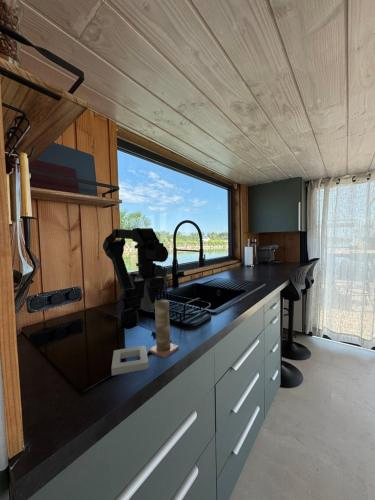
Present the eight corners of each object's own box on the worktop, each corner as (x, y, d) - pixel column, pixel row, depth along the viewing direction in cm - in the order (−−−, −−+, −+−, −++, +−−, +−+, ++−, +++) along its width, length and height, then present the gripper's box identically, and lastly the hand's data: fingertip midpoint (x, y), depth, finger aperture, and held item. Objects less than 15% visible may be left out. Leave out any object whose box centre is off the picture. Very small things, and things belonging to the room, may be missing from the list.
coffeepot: (137, 315, 106) (135, 278, 105) (134, 309, 115) (132, 275, 114) (168, 310, 112) (167, 275, 111) (163, 305, 121) (162, 272, 120)
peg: (158, 352, 71) (156, 305, 70) (155, 345, 75) (153, 301, 74) (172, 349, 73) (170, 302, 72) (168, 342, 77) (166, 299, 76)
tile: (148, 351, 73) (148, 349, 73) (163, 342, 79) (162, 340, 79) (164, 358, 69) (164, 355, 69) (178, 348, 75) (178, 346, 75)
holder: (114, 356, 71) (113, 350, 71) (145, 351, 73) (145, 345, 73) (111, 375, 61) (111, 368, 61) (148, 368, 64) (148, 362, 64)
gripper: (176, 260, 82) (178, 301, 83) (152, 257, 97) (154, 292, 98) (149, 263, 75) (151, 308, 76) (128, 259, 90) (130, 297, 91)
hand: (147, 300), depth 86 cm, fingers open, 9 cm apart
